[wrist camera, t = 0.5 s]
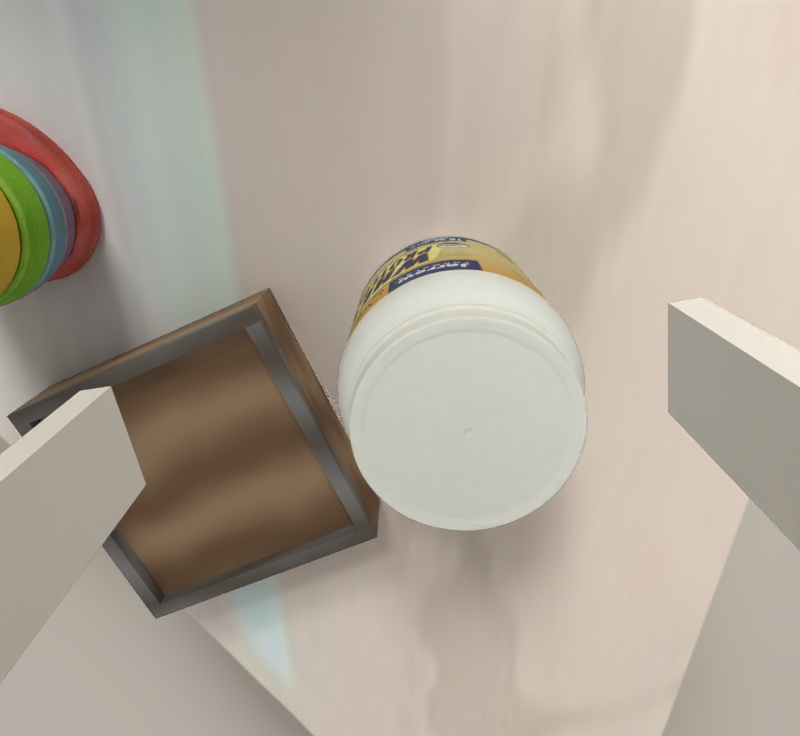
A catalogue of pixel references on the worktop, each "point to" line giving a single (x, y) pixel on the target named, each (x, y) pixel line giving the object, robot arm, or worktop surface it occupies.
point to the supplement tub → (461, 387)
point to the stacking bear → (40, 211)
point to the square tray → (224, 457)
